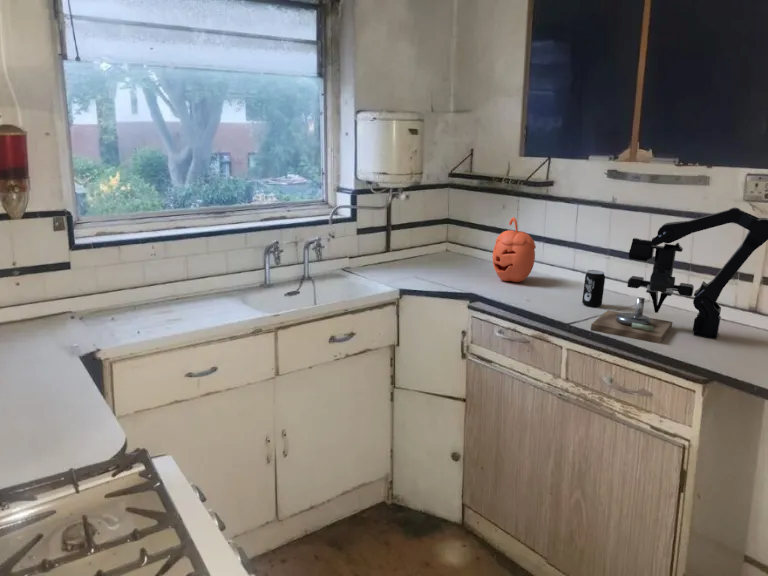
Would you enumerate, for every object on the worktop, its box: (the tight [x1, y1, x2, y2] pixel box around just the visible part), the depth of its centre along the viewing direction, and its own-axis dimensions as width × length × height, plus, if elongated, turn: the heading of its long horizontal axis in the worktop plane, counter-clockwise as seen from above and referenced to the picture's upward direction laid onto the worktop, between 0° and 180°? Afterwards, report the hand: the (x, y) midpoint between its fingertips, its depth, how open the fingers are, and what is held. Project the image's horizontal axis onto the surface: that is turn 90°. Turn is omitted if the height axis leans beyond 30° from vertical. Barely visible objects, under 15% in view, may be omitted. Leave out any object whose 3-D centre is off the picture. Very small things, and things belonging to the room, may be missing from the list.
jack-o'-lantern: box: [491, 216, 537, 283], centre depth 266 cm, size 18×17×25 cm
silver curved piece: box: [616, 296, 651, 326], centre depth 211 cm, size 14×10×6 cm
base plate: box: [590, 310, 673, 344], centre depth 210 cm, size 20×20×4 cm
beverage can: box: [582, 269, 606, 308], centre depth 235 cm, size 7×7×12 cm
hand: (656, 312), depth 213 cm, fingers closed
